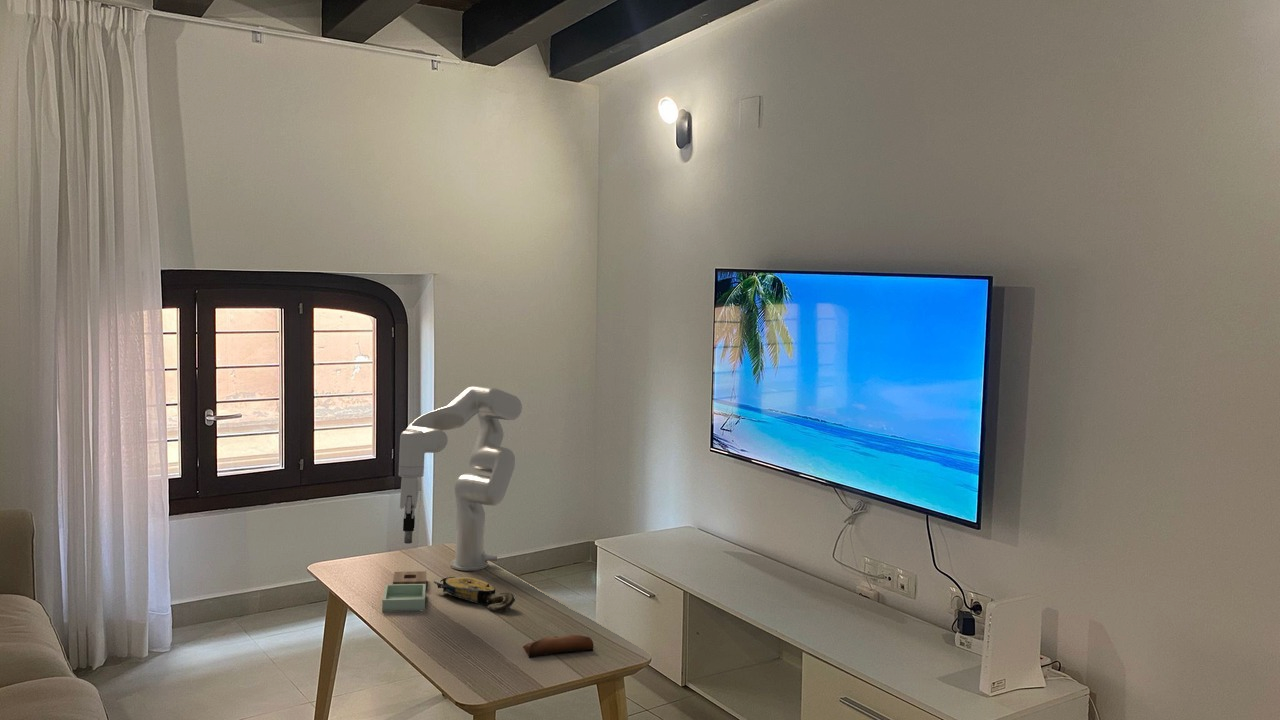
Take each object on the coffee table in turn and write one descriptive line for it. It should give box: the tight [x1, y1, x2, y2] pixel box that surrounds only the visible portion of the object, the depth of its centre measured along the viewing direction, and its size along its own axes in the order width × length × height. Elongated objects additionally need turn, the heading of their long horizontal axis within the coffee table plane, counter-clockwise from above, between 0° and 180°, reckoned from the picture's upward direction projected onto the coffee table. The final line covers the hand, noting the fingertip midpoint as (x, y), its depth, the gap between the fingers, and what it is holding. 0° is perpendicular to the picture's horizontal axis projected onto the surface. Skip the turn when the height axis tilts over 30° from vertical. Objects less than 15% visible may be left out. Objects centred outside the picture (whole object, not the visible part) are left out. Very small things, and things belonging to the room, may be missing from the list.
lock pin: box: [403, 531, 414, 544], centre depth 294 cm, size 2×2×8 cm
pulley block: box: [433, 576, 516, 612], centre depth 291 cm, size 14×6×30 cm
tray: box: [381, 583, 427, 613], centre depth 285 cm, size 12×14×4 cm
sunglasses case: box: [522, 634, 594, 658], centre depth 255 cm, size 18×7×7 cm
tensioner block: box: [392, 570, 427, 585], centre depth 300 cm, size 10×10×3 cm
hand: (408, 529), depth 293 cm, fingers closed on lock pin, 2 cm apart
